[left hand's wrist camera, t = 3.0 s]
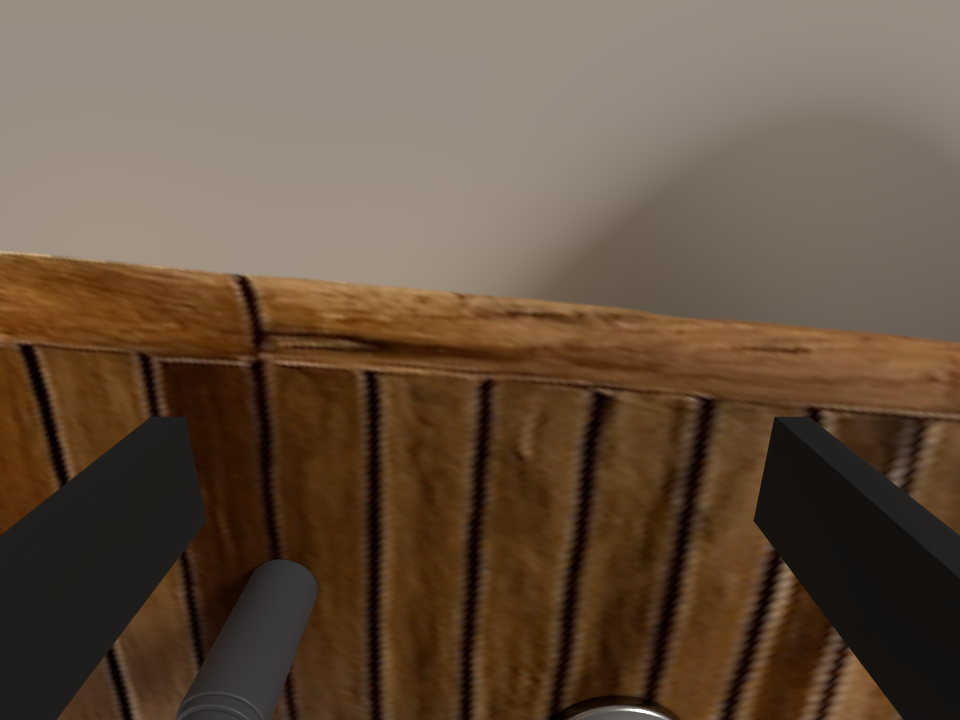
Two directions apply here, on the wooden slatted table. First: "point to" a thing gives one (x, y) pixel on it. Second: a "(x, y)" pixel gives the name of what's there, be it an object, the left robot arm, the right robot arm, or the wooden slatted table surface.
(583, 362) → the wooden slatted table surface
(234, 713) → the bottle
